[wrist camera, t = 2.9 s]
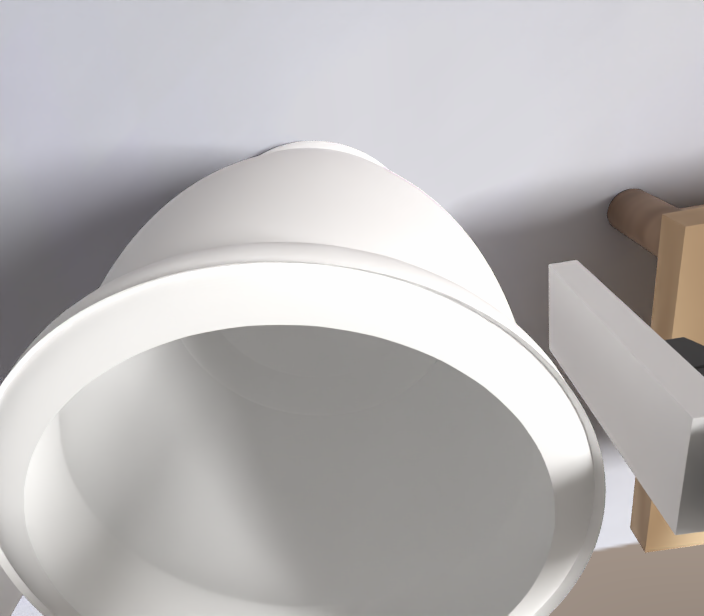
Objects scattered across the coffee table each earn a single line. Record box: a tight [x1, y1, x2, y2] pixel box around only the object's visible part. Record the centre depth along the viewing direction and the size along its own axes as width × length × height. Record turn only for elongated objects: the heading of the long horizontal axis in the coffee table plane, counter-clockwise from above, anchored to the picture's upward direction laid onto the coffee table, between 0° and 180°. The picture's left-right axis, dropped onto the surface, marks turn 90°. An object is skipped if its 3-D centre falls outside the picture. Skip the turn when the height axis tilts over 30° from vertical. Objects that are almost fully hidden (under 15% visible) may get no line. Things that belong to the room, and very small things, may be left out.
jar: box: [0, 141, 606, 616], centre depth 16 cm, size 11×10×15 cm
